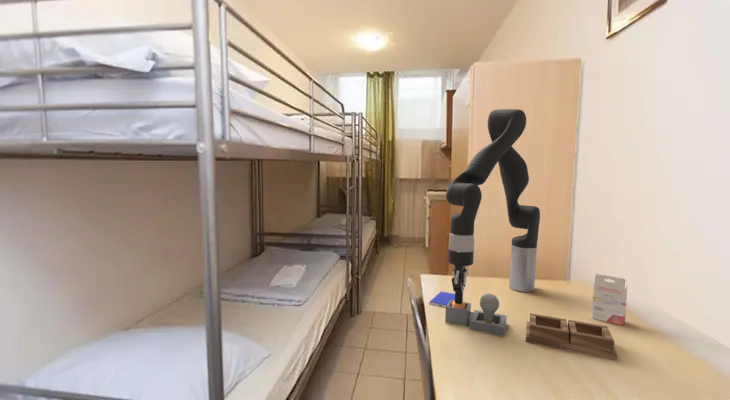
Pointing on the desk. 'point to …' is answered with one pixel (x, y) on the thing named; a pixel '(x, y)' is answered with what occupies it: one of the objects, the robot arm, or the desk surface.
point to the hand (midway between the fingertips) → (458, 302)
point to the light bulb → (489, 306)
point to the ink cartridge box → (609, 299)
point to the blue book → (442, 299)
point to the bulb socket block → (475, 319)
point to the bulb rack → (571, 335)
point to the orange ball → (458, 305)
